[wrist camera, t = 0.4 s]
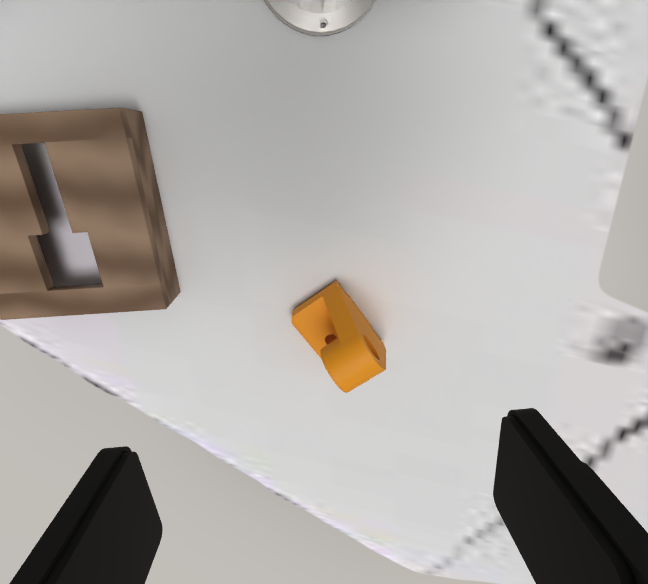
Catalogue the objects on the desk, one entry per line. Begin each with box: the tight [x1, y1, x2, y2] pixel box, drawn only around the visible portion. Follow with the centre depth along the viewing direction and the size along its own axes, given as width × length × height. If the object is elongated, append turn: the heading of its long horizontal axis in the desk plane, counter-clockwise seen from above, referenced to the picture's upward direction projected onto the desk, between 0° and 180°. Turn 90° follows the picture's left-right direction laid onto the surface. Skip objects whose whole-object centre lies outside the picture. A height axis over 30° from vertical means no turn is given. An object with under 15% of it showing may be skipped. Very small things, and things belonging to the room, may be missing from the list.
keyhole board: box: [0, 108, 180, 320], centre depth 40 cm, size 20×18×5 cm
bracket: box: [292, 281, 386, 393], centre depth 43 cm, size 11×7×12 cm, turn 35°
